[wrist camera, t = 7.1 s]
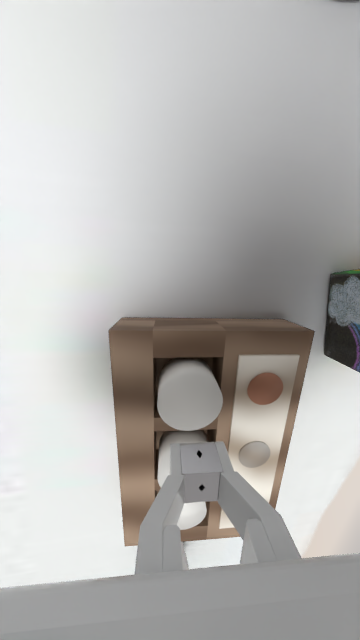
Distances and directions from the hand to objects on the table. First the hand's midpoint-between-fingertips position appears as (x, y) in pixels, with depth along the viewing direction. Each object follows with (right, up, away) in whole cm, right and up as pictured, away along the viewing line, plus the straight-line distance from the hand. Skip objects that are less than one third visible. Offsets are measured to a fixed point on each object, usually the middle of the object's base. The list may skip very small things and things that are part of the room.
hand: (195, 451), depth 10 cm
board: (+1, -4, +11) cm, 11 cm away
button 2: (0, +2, +6) cm, 6 cm away
